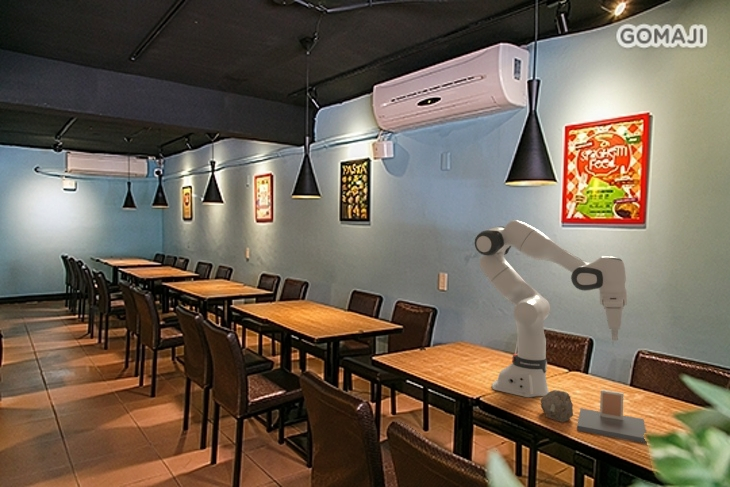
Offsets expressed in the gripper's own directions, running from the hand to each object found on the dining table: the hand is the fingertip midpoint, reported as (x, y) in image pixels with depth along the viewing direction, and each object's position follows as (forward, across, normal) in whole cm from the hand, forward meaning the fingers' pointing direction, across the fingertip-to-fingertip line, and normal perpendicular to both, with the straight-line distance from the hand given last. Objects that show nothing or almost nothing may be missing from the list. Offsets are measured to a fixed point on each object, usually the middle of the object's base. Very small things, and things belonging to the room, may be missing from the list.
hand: (614, 337), depth 177 cm
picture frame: (+26, +11, -2) cm, 28 cm away
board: (+28, +16, -2) cm, 32 cm away
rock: (+27, +17, -20) cm, 37 cm away
